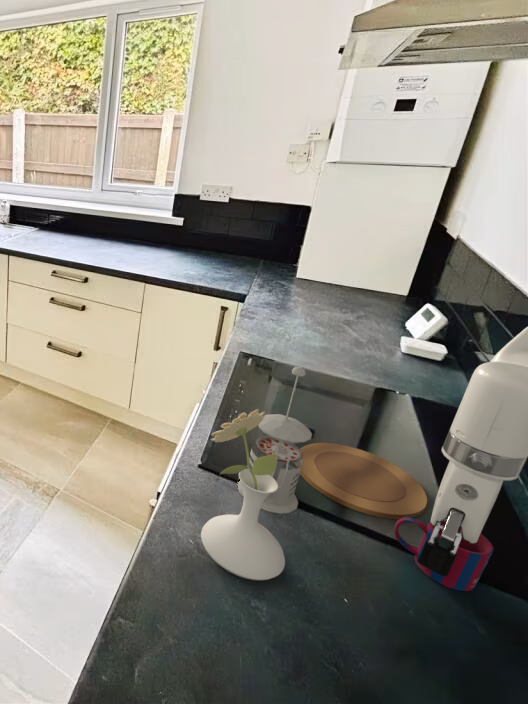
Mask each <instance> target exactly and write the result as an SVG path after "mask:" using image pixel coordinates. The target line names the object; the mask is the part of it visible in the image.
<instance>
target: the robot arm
mask: <svg viewBox="0 0 528 704" xmlns="http://www.w3.org/2000/svg"><path fill="white" fill-rule="evenodd" d="M441 453H442V454H443V456H444V457H445V458H446V459H447V460H448V463H447V466H446V468H445V471H444V474H443V477H442V479H441V482H440V485H439V488H438V491H437V493H436V497H435V500H434V504H433V508H432V513H431V516H430V521H429V522H431V523H432V525H433V526H435V528H434V530H433V533H432V535H431V537H430V540H428V539H427V540H426V542H425V545H424V547H423V549H422V552H421V554H420V556H419V558H418V563H419V564H421V565H423V566H425V567H427V568H428V569H430V570H432V571H434V572H436V573H438V574H440V575H442V576H447V575H448V573H449V571H450V569H451V567H452V565H453V563H454V561H455V559H456V556H457V553H456V551H457V549H458V546H459V544H460V541H461V539H462V538H463V537H464V539H465V540H467V541H469V542H470V543H476V542H477V541H478V538H479V536H480V534H482V531H483V530H484V526H485V525H486V523H487V521H488V518H489V516H490V514H491V511H492V509H493V507H494V505H495V503H496V501H497V498H498V496H499V493H500V491H501V489H502V486H503V483H504V482H505V481H515V480H517V479H518V478H519V476H520V473H521V472H522V470H523V469H524V468H523V467H524V465H525V464H526V462H527V459H528V326H526V327H525V328H523V330H521V332H519V333H518V334H516V335H515V336H514V337H513V338H512V339H511V340H510V341H508V342H507V343H506V344H505V345H504V346H503V347H502V348H501V349H499V351H498V352H496V354H494V356H493V358H491V360H490V361H488V362H484V363H481V364H480V365H478V366H477V367H476V368H475V369H474V370H473V373H472V374H471V377H470V380H469V381H468V384H467V387H466V389H465V392H464V394H463V397H462V399H461V401H460V404H459V406H458V408H457V411H456V413H455V416H454V418H453V421H452V423H451V426H450V428H449V430H448V433H447V435H446V437H445V440H444V442H443V444H442V447H441ZM441 521H444V522H446V524H445V526H443V525H441ZM458 528H461V530H460V532H457V531H458ZM439 530H442V531H443V532H442V534H441V536H438V537H437V535H438V532H439ZM455 537H456V538H455ZM454 539H455V540H454ZM453 541H454V542H453Z"/></svg>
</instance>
